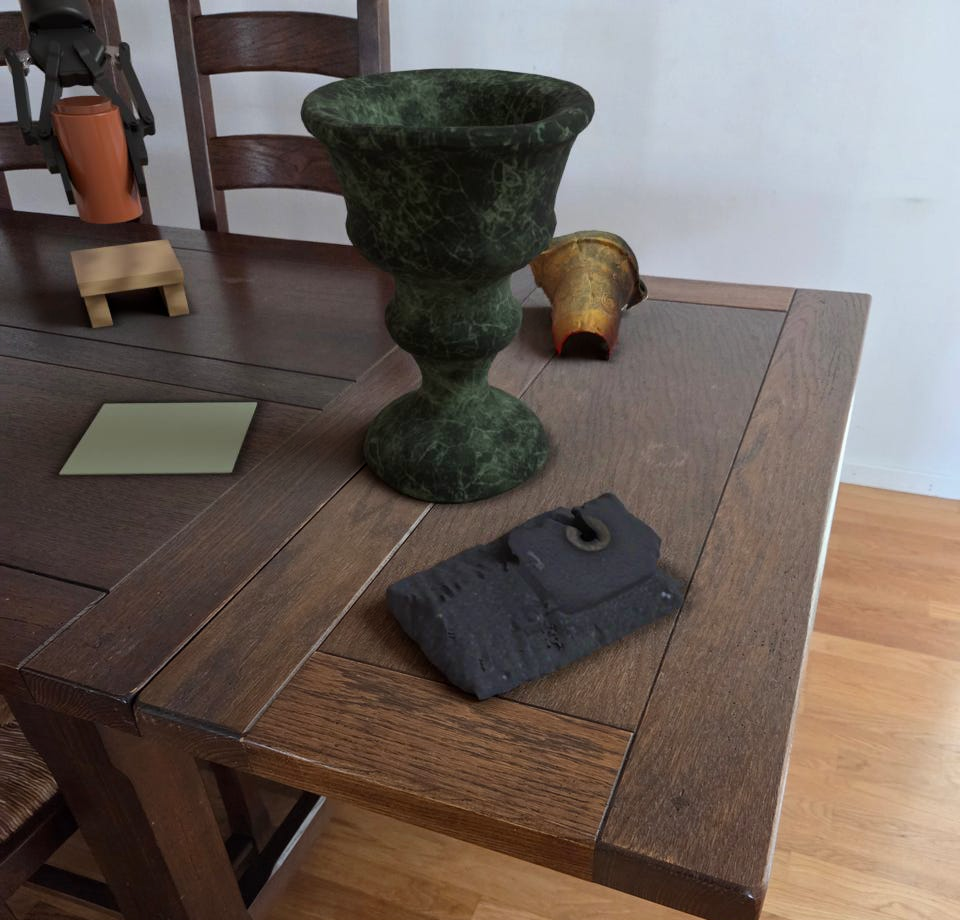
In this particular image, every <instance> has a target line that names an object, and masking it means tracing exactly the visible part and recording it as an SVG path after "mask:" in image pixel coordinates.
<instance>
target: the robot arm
mask: <svg viewBox="0 0 960 920" xmlns="http://www.w3.org/2000/svg"><path fill="white" fill-rule="evenodd" d="M18 4H19V7H20V12H21V15H22V19H23V23H24V26H25V31H26V34H27V37H28V42H27V45H26V49H23V50H19V51H15V50H14V49H12V48H11V47H6V48H4V49H3V50H2V51H3V56H4V60H5V63H6V65H7V69H8V71H9V74H11V79H12V85H13V87H12V88H13V93H14V103H15V110H16V118H17V126H18V130H19V133H20V136H21V139H22V142H23V144H24V145H25V146H28V147H31V146H33V145H35V146H37V147H40V148H41V149H42V153H43V157H44V160H45V164H46V167H47V170H48V172H49V173H50V175H57V174H58V175H60V178H61V181H62V185H63V189H64V192H65V196H66V199H67V202H68V206H76V202H75V199H74V195H73V191H72V188H71V184H70V180H69V177H68V173H67V170H66V166H65V162H64V159H63V155H62V151H61V148H60V144H59V141H58V138H57V134H56V130H55V127H54V123H53V120H52V116H51V110H52V109H54V108H55V105H54V102H55V101H57V100H59V99H62V97H63V93H64V92H63V91H64V89H67V88H73V87H75V86H79V87H91V88H92V90H93V91H94V92H95V94H96V96H104V97H108V98H110V99H111V101H112V104H114V105H117V106H118V107H119V111H120V115H121V120H122V124H123V128H124V132H125V137H126V141H127V145H128V150H129V154H130V158H131V163H132V167H133V171H134V176H135V180H136V184H137V188H138V193H139V197H140V199H141V198H148V191H147V184H146V180H145V176H144V173H143V169H142V167H146V166H147V167H148V166H149V155H148V151H147V147H146V144H145V140H144V139H145V137H147V136H149V137H150V136H155V134H156V132H157V130H156V123H155V116H154V113H153V111H152V109H151V106H150V104H149V102H148V100H147V96H146V94H145V92H144V90H143V87H142V86H141V83H140V81H139V79H138V76H137V73H136V71H135V69H134V66H133V61H132V53H131V46H130V44H129V43H128V42H126V41H121V42H119V43H118V46H115V45H106V43H105V41H104V40H103V39H102V38H101V37H100V36H99V34H98V30H97V26H96V23H95V19H94V15H93V12H92V8H91V4H90V2H89V0H18ZM107 60H109V61H110V62H111V63H112V64H113V67H114V68H115V69H116V70H117V71H119V72H120V73H121V77H122V80H123V84H124V85H125V88H126V90H127V93H128V95H129V97H130V99H131V102H132V105H133V106H134V110H135V112H136V113H137V116H138V117H136V116H135V115H134V113H133V112H132V111H131V110H130V108H129V106H128V105H127V103H126V102H125V101H124V99H123V98H122V97H121V95H120V94H119V93H118V91H117V90H116V88H115V87H114V86H113V84H112V83H111V82H110V80H109V79H108V77H107V76H106V74H105V72H104V70H103V68H104V67H105V64H106V62H107ZM31 64H33V65H34V66H35V67H36V68H38V70H40V71H41V72H42V73H43V75H44V85H43V91H42V98H41V104H40V110H39V117H38V123H37V127H36V126H34V125H33V123H34V122H33V117H32V115H33V114H32V109H31V101H30V93H29V86H28V81H27V79H26V77H29V74H30V71H31V70H30V66H31Z"/></svg>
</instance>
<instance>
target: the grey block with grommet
mask: <svg viewBox="0 0 960 920" xmlns="http://www.w3.org/2000/svg"><path fill="white" fill-rule="evenodd" d="M662 541H663V540H662V538H661V536H659V535H658V534H657V533H656V531H655V530H654V529H653V528H652V527H651V526H650V525H649V524H647V523H646V522H644V521H643V520H642V519H640V518H638V517H637V516H636V515H635V514H633V513H631V512H630V511H629V510H628V509H627V507H625V504H624V502H623V501H621V500H620V498H619V497H617V495H616V493H614V492H613V493H612V492H604V493H602V494H600V495H599V496H598V497H595V498H593V499H590V500H588V501H586V502H583V504H582V505H575V506H573V507H572V508H571V509H570V508H567V507H564V506H558V507H556V508H554V509H552V510H547V511H545V512H542V513H540V514H538V515H535V516H534V517H531V518H529V519H528V520H526V521H524V522H523V523H521V524H518V525H517V526H515V527H513V528H511V529H510V530H508V531H506V532H505V533H503V534H502V535H500V536H499V537H497V538H496V539H494V540H492V541H490V542H487V543H486V544H482V543H478V544H477V543H476V544H475V545H474V546H472V547H467V548H464V549H463V550H462V551H460V552H458V553H456V554H455V555H452V556H451V557H448V558H446V559H442V560H440V561H439V562H437V563H436V564H435V565H433V566H431V567H430V568H428V569H425V570H422V571H419V572H418V571H417V572H415V573H413V574H410V575H408V576H405V577H403V578H401V579H399V580H397V581H396V582H394V583H391V584H390V585H388V586H387V588H386V590H385V602H386V607H387V609H388V610H389V611H390V612H391V614H392V615H393V616H394V617H395V619H396V620H397V621H398V622H399V624H400V625H401V627H402V629H403V632H404V633H406V634H407V636H408V637H409V638H411V639H412V640H413V641H414V642H415V644H417V645H418V646H419V647H420V649H421V650H422V652H423V653H424V655H425V657H426V659H427V661H428V662H429V663H431V664H432V665H434V667H436V668H437V669H438V670H439V671H440V672H441V673H442V674H443V675H445V676H446V678H447V679H448V681H450V683H451V684H452V685H453V686H455V687H458V688H459V689H460V690H462V691H463V692H466V693H469V694H473V695H476V696H477V697H478V700H480V701H481V700H486V699H490V698H492V697H494V696H497V695H498V696H499V695H502V694H505V693H507V692H509V691H512V690H514V689H516V688H520V687H522V685H523V684H524V683H527V682H535V681H537V680H538V679H539V678H540V677H542V676H547V675H550V674H551V673H554V671H555V670H560V669H562V668H565V667H566V666H568V665H570V664H572V663H575V662H577V661H579V660H581V659H583V658H584V657H587V656H590V655H591V654H593V653H594V652H596V651H598V650H599V649H602V648H604V647H607V646H609V645H610V644H612V643H614V642H617V641H619V640H621V639H624V638H625V637H627V636H629V635H630V634H633V633H635V632H637V631H639V630H640V629H641V628H643V627H646V626H648V625H651V624H653V623H655V622H656V621H657V620H659V619H661V618H662V619H663V617H666V616H668V615H670V614H672V613H673V612H675V611H676V610H679V609H680V608H681V607H682V606H683V604H684V602H685V597H684V596H683V595H682V594H681V593H680V591H681V590H682V589H683V588H684V584H682V583H681V581H680V580H678V579H676V578H674V577H672V576H671V575H669V574H666V573H665V572H663V571H662V570H661V569H659V568H658V567H657V565H656V564H657V560H658V559H659V558H660V556H661V546H662Z"/></svg>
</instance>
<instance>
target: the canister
mask: <svg viewBox="0 0 960 920" xmlns="http://www.w3.org/2000/svg"><path fill="white" fill-rule="evenodd" d="M54 105H55V108H54V109H52V110H51V116H52V120H53V123H54V127H55V135H57V138H58V141H59V144H60V148H61V151H62V155H63V159H64V162H65V166H66V170H67V173H68V177H69V180H70V184H71V188H72V191H73V195H74V199H75V202H76V204H75V206H76V209H77V214H78V217H79V219H80V220H81V221H82V222H86V223H88V224H97V225H109V224H120V223H125V222H129V221H131V220H136V219H137V218H139V217H141V216H142V215H143V214H144V210H143V206H142V202H141V196H140V193H139V189H138V185H137V182H136V178H135V175H134V171H133V167H132V163H131V158H130V154H129V150H128V145H127V141H126V137H125V132H124V128H123V124H122V120H121V115H120V111H119V107H118V106H117V105H114V104H112V101H111V99H110V98H108V97H104V96H99V95H75V96H69V97H63V98H60V99H59V100H57V101H55V102H54Z"/></svg>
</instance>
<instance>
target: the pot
mask: <svg viewBox="0 0 960 920" xmlns="http://www.w3.org/2000/svg"><path fill="white" fill-rule="evenodd" d="M528 265H529V266H528V268H529V270H530V272H531V274H532V276H533V280H534V284H535V286H536V287H537V288H538V289H541V290H542V291H543V294H544V295H545V296H546V299H547V301H548V303H549V305H550V308H551V320H552V324H551V333H552V336H553V340H554V345H555V349H556V350H557V353H558V357H561V353H562V347H563V344H564V342H565V340H566V339H567V338H568V337H569V336H570V335H572V334H578V333H591V334H595V335H596V336H599V337H600V338H602V339H603V340H604V341H605V343H606V348H607V352H606V356H605V359H606V360H607V361H609V360H610V356H611V354H612V353H613V349H614V347H615V346H616V345H617V342H618V337H619V330H620V327H621V321H622V311H623V310H624V308H625V310H626V311H630V310H631V309H634V308H635V307H637V306H638V305H639V304H641V303H642V301H646V300H648V298H649V291H648V288H647V286H646V283H645V282H644V281H643V280H642V279H641V278H640V271H639V270H640V267H639V262H638V260H637V256H636V254H635V252H634V251H633V249H632V248H631V246H630V245H629V244H628V242H627V241H626V240H625V239H624V238H623V237H621V236H620V235H618V234H616V233H614V232H610V231H604V230H598V229H597V230H596V229H592V230H591V229H589V230H578V231H574V232H571V233H568V234H563V235H559V236H555V237H554V236H553V238H552V240H551V241H550V243H549V245H548V246H547V247H546V249H545V250H544V251H543V252H542V253H541V254H540V255H539V256H538V257H537V258H536V259H534V260H533V261H532V262H531V263H529V264H528Z"/></svg>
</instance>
